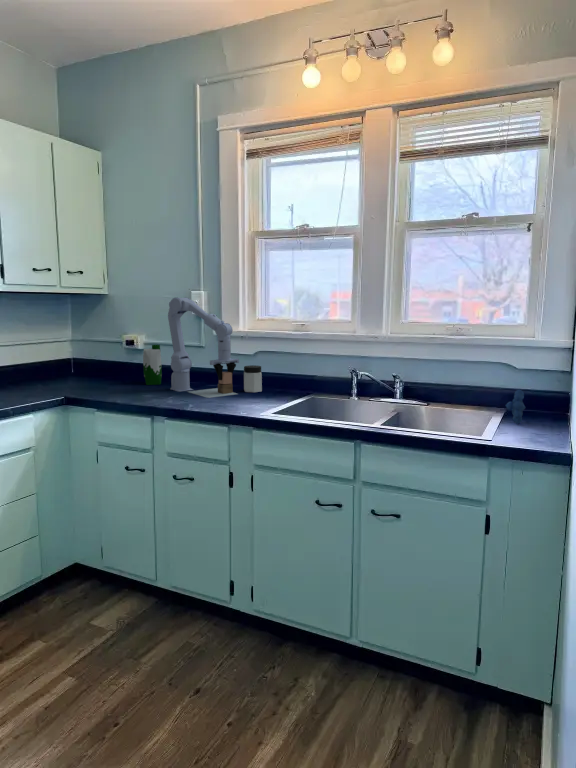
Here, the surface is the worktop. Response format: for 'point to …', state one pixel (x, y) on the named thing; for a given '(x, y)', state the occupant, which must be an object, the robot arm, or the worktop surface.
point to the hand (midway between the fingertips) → (224, 379)
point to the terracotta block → (226, 378)
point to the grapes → (517, 406)
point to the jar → (252, 378)
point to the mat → (210, 393)
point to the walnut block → (225, 388)
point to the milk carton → (152, 365)
